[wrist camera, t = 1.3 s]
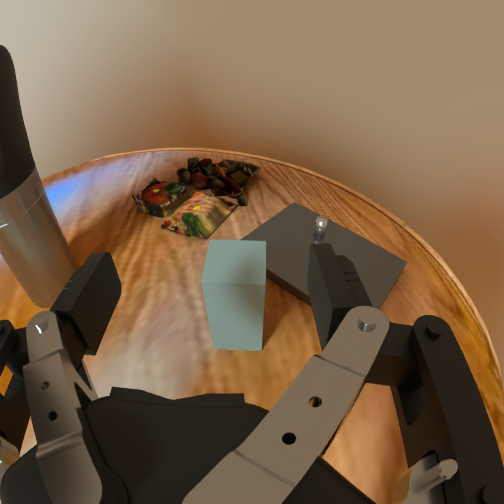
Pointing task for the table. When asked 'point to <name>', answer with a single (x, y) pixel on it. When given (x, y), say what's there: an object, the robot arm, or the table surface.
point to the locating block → (235, 293)
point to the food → (197, 196)
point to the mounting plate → (322, 231)
